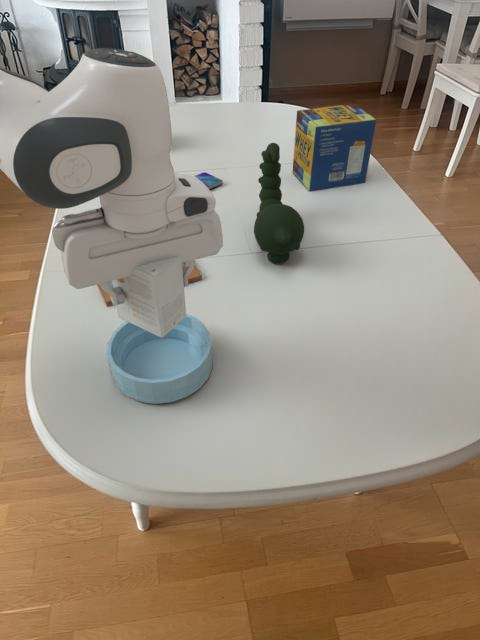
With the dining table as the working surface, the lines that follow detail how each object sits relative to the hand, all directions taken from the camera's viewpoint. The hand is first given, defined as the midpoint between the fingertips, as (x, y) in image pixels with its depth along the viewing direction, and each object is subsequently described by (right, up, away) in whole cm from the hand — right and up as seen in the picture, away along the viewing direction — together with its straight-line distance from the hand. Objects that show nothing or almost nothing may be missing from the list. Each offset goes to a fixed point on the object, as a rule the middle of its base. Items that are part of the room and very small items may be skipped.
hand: (150, 293), depth 70 cm
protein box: (+34, +31, +58) cm, 74 cm away
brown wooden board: (-6, +6, +29) cm, 30 cm away
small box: (0, -3, +3) cm, 5 cm away
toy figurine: (+19, +12, +36) cm, 42 cm away
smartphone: (0, +27, +53) cm, 60 cm away
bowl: (0, -11, +10) cm, 15 cm away
